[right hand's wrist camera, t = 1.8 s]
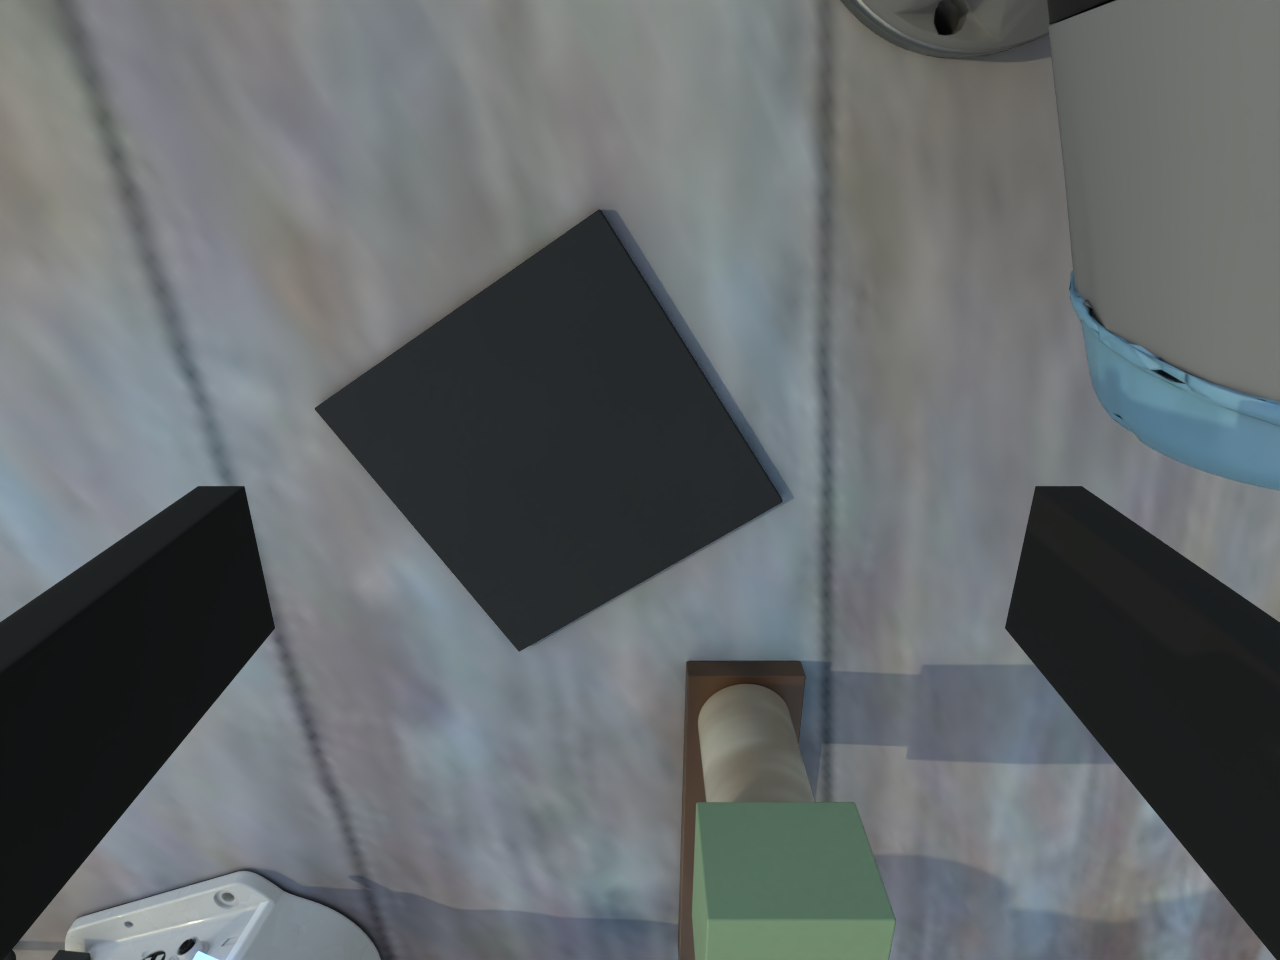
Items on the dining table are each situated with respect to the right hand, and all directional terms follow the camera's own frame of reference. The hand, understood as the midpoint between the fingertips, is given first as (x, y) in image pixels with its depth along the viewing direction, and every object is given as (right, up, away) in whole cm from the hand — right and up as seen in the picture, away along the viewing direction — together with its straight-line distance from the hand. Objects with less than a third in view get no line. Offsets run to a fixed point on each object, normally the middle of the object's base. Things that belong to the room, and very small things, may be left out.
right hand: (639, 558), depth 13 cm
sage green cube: (+6, -17, +23) cm, 30 cm away
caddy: (+6, -21, +37) cm, 43 cm away
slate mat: (-5, +3, +28) cm, 28 cm away
